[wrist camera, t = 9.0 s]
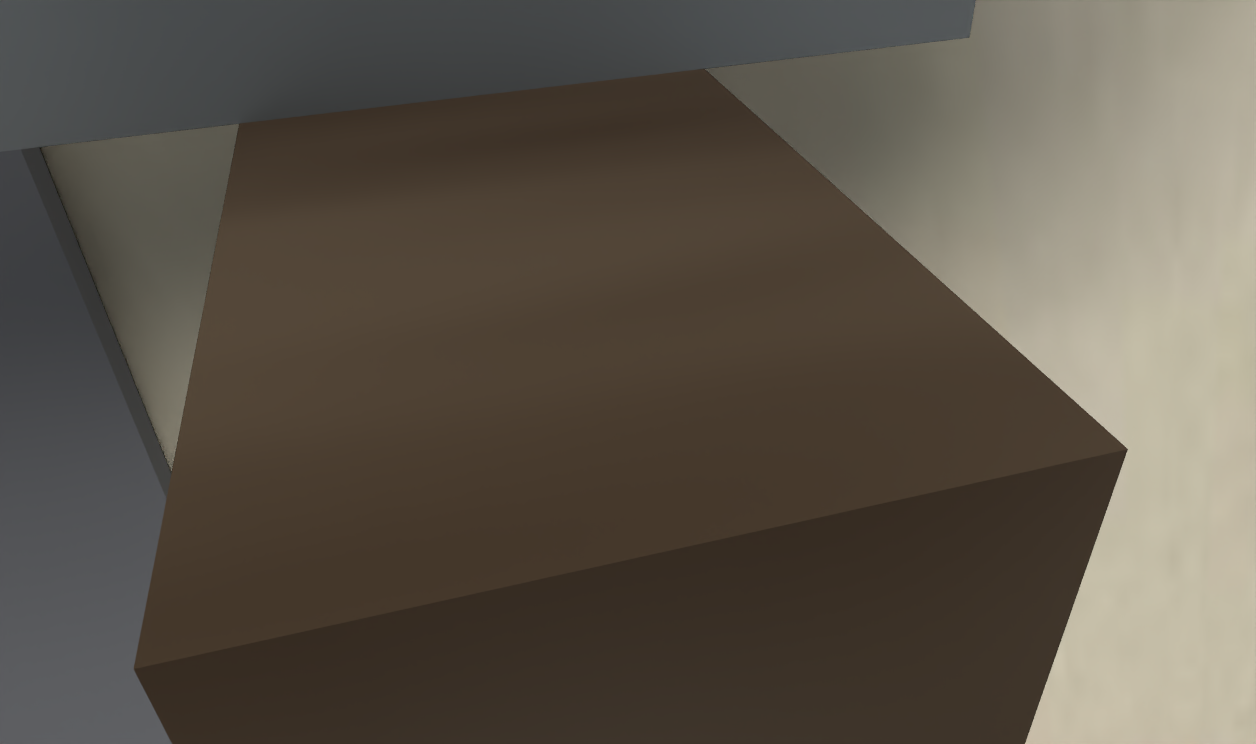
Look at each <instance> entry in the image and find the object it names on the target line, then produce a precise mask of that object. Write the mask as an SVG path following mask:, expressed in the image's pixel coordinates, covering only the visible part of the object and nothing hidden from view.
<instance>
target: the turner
mask: <svg viewBox="0 0 1256 744" xmlns="http://www.w3.org/2000/svg"><path fill="white" fill-rule="evenodd" d="M975 1H976V0H0V152H2V151H11V150H19V149H28V148H36V147H45V146H53V145H62V144H70V143H79V142H87V141H96V140H104V139H113V138H121V137H130V136H138V135H147V134H155V133H163V132H172V131H180V130H189V129H197V128H206V127H214V126H223V125H231V124H239V128H238V133H237V138H236V144H235V149H234V154H233V159H232V164H231V169H230V174H229V180H228V185H227V190H226V195H225V200H224V205H223V210H222V216H221V221H220V226H219V231H218V236H217V241H216V247H215V252H214V257H213V262H212V267H211V272H210V277H209V283H208V288H207V293H206V298H205V303H204V308H203V314H202V319H201V324H200V329H199V334H198V339H197V344H196V350H195V355H194V360H193V365H192V370H191V375H190V381H189V386H188V391H187V396H186V401H185V406H184V411H183V417H182V422H181V427H180V432H179V437H178V442H177V447H176V453H175V458H174V463H173V468H172V473H171V478H170V484H169V489H168V494H167V499H166V504H165V509H164V514H163V520H162V525H161V530H160V535H159V540H158V545H157V551H156V556H155V561H154V566H153V571H152V576H151V581H150V587H149V592H148V597H147V602H146V607H145V612H144V618H143V623H142V628H141V633H140V638H139V643H138V648H137V654H136V659H135V664H134V671H135V673H136V675H137V677H138V679H139V681H140V683H141V685H142V687H143V689H144V690H145V692H146V694H147V696H148V698H149V700H150V702H151V704H152V706H153V708H154V710H155V712H156V714H157V716H158V718H159V720H160V721H161V723H162V725H163V727H164V729H165V731H166V733H167V735H168V737H169V739H170V741H171V743H172V744H1025V742H1026V739H1027V736H1028V733H1029V730H1030V727H1031V725H1032V722H1033V719H1034V716H1035V713H1036V710H1037V707H1038V705H1039V702H1040V699H1041V696H1042V693H1043V690H1044V687H1045V685H1046V682H1047V679H1048V676H1049V673H1050V670H1051V667H1052V665H1053V662H1054V659H1055V656H1056V653H1057V650H1058V647H1059V645H1060V642H1061V639H1062V636H1063V633H1064V630H1065V627H1066V624H1067V622H1068V619H1069V616H1070V613H1071V610H1072V607H1073V604H1074V602H1075V599H1076V596H1077V593H1078V590H1079V587H1080V584H1081V582H1082V579H1083V576H1084V573H1085V570H1086V567H1087V564H1088V562H1089V559H1090V556H1091V553H1092V550H1093V547H1094V544H1095V542H1096V539H1097V536H1098V533H1099V530H1100V527H1101V524H1102V521H1103V519H1104V516H1105V513H1106V510H1107V507H1108V504H1109V501H1110V499H1111V496H1112V493H1113V490H1114V487H1115V484H1116V481H1117V479H1118V476H1119V473H1120V470H1121V467H1122V464H1123V461H1124V459H1125V456H1126V453H1127V450H1128V449H1127V448H1126V447H1125V446H1124V445H1123V444H1121V443H1120V442H1119V441H1118V440H1117V439H1116V438H1115V437H1114V436H1113V435H1111V434H1110V433H1109V432H1108V431H1107V430H1106V429H1105V428H1104V427H1103V426H1101V425H1100V424H1099V423H1098V422H1097V421H1096V420H1095V419H1094V418H1093V417H1091V416H1090V415H1089V414H1088V413H1087V412H1086V411H1085V410H1084V409H1082V408H1081V407H1080V406H1079V405H1078V404H1077V403H1076V402H1075V401H1074V400H1072V399H1071V398H1070V397H1069V396H1068V395H1067V394H1066V393H1065V392H1064V391H1062V390H1061V389H1060V388H1059V387H1058V386H1057V385H1056V384H1055V383H1054V382H1052V381H1051V380H1050V379H1049V378H1048V377H1047V376H1046V375H1045V374H1044V373H1042V372H1041V371H1040V370H1039V369H1038V368H1037V367H1036V366H1035V365H1033V364H1032V363H1031V362H1030V361H1029V360H1028V359H1027V358H1026V357H1025V356H1023V355H1022V354H1021V353H1020V352H1019V351H1018V350H1017V349H1016V348H1015V347H1013V346H1012V345H1011V344H1010V343H1009V342H1008V341H1007V340H1006V339H1005V338H1003V337H1002V336H1001V335H1000V334H999V333H998V332H997V331H996V330H995V329H993V328H992V327H991V326H990V325H989V324H988V323H987V322H986V321H984V320H983V319H982V318H981V317H980V316H979V315H978V314H977V313H976V312H974V311H973V310H972V309H971V308H970V307H969V306H968V305H967V304H966V303H964V302H963V301H962V300H961V299H960V298H959V297H958V296H957V295H956V294H954V293H953V292H952V291H951V290H950V289H949V288H948V287H947V286H946V285H944V284H943V283H942V282H941V281H940V280H939V279H938V278H937V277H935V276H934V275H933V274H932V273H931V272H930V271H929V270H928V269H927V268H925V267H924V266H923V265H922V264H921V263H920V262H919V261H918V260H917V259H915V258H914V257H913V256H912V255H911V254H910V253H909V252H908V251H907V250H905V249H904V248H903V247H902V246H901V245H900V244H899V243H898V242H897V241H895V240H894V239H893V238H892V237H891V236H890V235H889V234H888V233H886V232H885V231H884V230H883V229H882V228H881V227H880V226H879V225H878V224H876V223H875V222H874V221H873V220H872V219H871V218H870V217H869V216H868V215H866V214H865V213H864V212H863V211H862V210H861V209H860V208H859V207H858V206H856V205H855V204H854V203H853V202H852V201H851V200H850V199H849V198H848V197H846V196H845V195H844V194H843V193H842V192H841V191H840V190H839V189H837V188H836V187H835V186H834V185H833V184H832V183H831V182H830V181H829V180H827V179H826V178H825V177H824V176H823V175H822V174H821V173H820V172H819V171H817V170H816V169H815V168H814V167H813V166H812V165H811V164H810V163H809V162H807V161H806V160H805V159H804V158H803V157H802V156H801V155H800V154H799V153H797V152H796V151H795V150H794V149H793V148H792V147H791V146H790V145H788V144H787V143H786V142H785V141H784V140H783V139H782V138H781V137H780V136H778V135H777V134H776V133H775V132H774V131H773V130H772V129H771V128H770V127H768V126H767V125H766V124H765V123H764V122H763V121H762V120H761V119H760V118H758V117H757V116H756V115H755V114H754V113H753V112H752V111H751V110H750V109H748V108H747V107H746V106H745V105H744V104H743V103H742V102H741V101H739V100H738V99H737V98H736V97H735V96H734V95H733V94H732V93H731V92H729V91H728V90H727V89H726V88H725V87H724V86H723V85H722V84H721V83H719V82H718V81H717V80H716V79H715V78H714V77H713V76H712V75H711V74H709V73H708V72H707V71H706V70H705V69H707V68H715V67H724V66H732V65H741V64H749V63H758V62H766V61H775V60H783V59H792V58H800V57H809V56H817V55H826V54H834V53H843V52H851V51H860V50H868V49H877V48H885V47H894V46H902V45H911V44H919V43H928V42H936V41H945V40H953V39H962V38H969V36H970V30H971V25H972V19H973V13H974V7H975Z"/></svg>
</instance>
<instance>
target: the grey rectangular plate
mask: <svg viewBox="0 0 1256 744" xmlns="http://www.w3.org/2000/svg"><path fill="white" fill-rule="evenodd" d="M170 478H171V472H170V470H169V467H168V465H167V462H166V460H165V457H164V455H163V452H162V450H161V447H160V445H159V442H158V440H157V438H156V435H155V433H154V430H153V428H152V425H151V423H150V420H149V418H148V415H147V413H146V410H145V408H144V405H143V403H142V400H141V398H140V396H139V393H138V391H137V388H136V386H135V383H134V381H133V378H132V376H131V373H130V371H129V368H128V366H127V363H126V361H125V358H124V356H123V354H122V351H121V349H120V346H119V344H118V341H117V339H116V336H115V334H114V331H113V329H112V326H111V324H110V321H109V319H108V316H107V314H106V311H105V309H104V307H103V304H102V302H101V299H100V297H99V294H98V292H97V289H96V287H95V284H94V282H93V279H92V277H91V274H90V272H89V269H88V267H87V265H86V262H85V260H84V257H83V255H82V252H81V250H80V247H79V245H78V242H77V240H76V237H75V235H74V232H73V230H72V227H71V225H70V222H69V220H68V218H67V215H66V213H65V210H64V208H63V205H62V203H61V200H60V198H59V195H58V193H57V190H56V188H55V185H54V183H53V180H52V178H51V176H50V173H49V171H48V168H47V166H46V163H45V161H44V158H43V156H42V153H41V151H40V148H39V147H36V148H28V149H19V150H11V151H2V152H0V744H172V743H171V741H170V739H169V737H168V735H167V733H166V731H165V729H164V727H163V725H162V723H161V721H160V720H159V718H158V716H157V714H156V712H155V710H154V708H153V706H152V704H151V702H150V700H149V698H148V696H147V694H146V692H145V690H144V689H143V687H142V685H141V683H140V681H139V679H138V677H137V675H136V673H135V671H134V664H135V659H136V654H137V648H138V643H139V638H140V633H141V628H142V623H143V618H144V612H145V607H146V602H147V597H148V592H149V587H150V581H151V576H152V571H153V566H154V561H155V556H156V551H157V545H158V540H159V535H160V530H161V525H162V520H163V514H164V509H165V504H166V499H167V494H168V489H169V484H170Z"/></svg>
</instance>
